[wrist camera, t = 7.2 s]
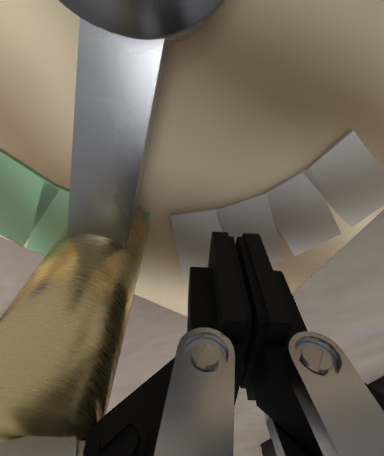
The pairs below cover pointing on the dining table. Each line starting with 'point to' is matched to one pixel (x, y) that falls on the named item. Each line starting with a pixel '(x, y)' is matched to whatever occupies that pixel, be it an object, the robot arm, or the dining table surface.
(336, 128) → the dial board
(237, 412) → the dining table surface
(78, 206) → the lever
